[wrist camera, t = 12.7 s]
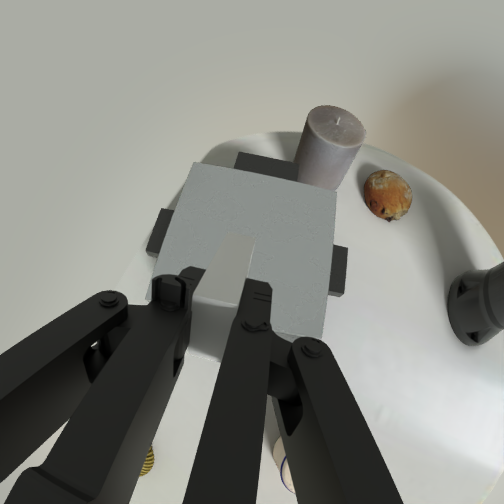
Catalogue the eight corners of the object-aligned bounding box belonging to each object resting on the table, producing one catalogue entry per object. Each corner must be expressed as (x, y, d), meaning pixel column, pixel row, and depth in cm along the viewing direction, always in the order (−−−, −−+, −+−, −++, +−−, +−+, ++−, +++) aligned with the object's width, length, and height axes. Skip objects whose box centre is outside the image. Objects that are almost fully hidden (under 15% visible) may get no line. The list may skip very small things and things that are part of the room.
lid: (334, 179, 37) (337, 173, 36) (318, 339, 29) (321, 338, 27) (201, 151, 37) (200, 145, 36) (148, 301, 29) (144, 299, 28)
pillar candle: (289, 154, 54) (304, 95, 40) (336, 158, 54) (360, 104, 40) (293, 195, 50) (313, 137, 36) (344, 198, 51) (376, 145, 37)
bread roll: (398, 207, 55) (414, 177, 50) (404, 233, 48) (425, 200, 42) (358, 188, 56) (373, 156, 51) (358, 213, 49) (377, 176, 43)
